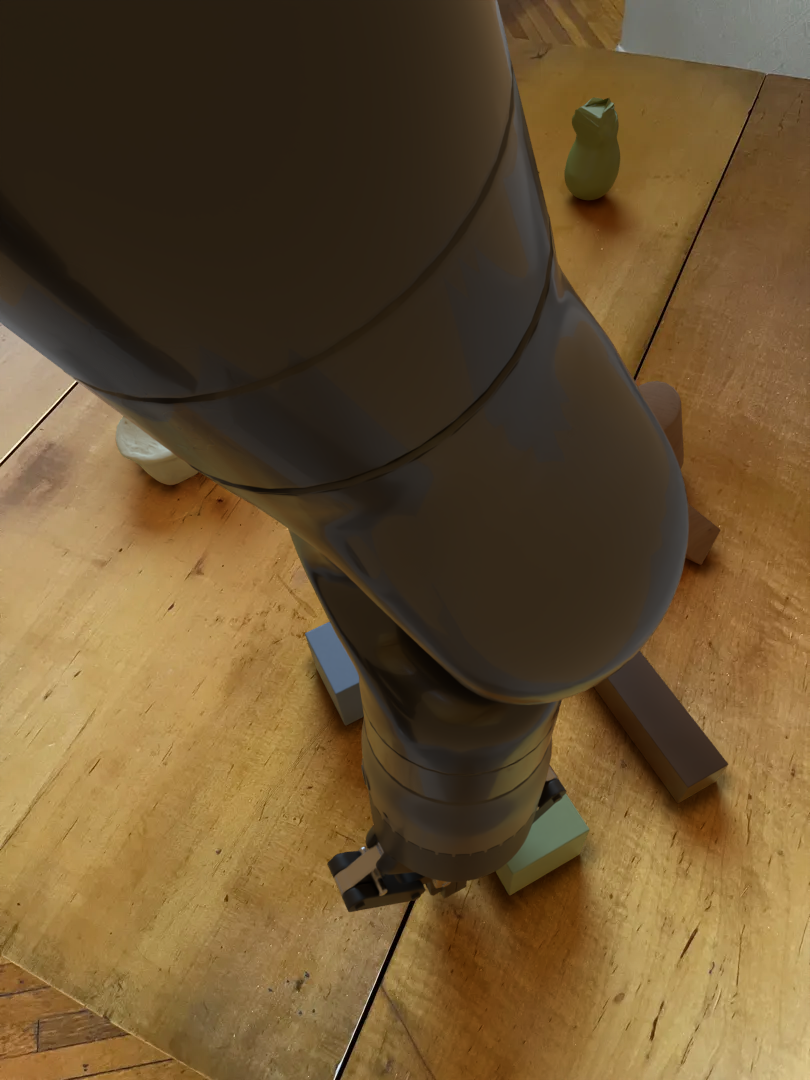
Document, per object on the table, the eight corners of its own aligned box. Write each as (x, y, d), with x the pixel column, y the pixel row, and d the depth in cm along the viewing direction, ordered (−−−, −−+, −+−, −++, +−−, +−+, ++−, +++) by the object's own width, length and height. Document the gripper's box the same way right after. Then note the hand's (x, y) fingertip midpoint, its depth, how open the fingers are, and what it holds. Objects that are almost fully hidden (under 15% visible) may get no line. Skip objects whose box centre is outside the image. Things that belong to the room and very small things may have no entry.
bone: (274, 359, 77) (255, 285, 70) (294, 469, 68) (274, 396, 61) (132, 388, 76) (99, 316, 69) (133, 504, 67) (96, 433, 60)
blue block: (345, 726, 55) (335, 694, 51) (315, 667, 57) (304, 632, 53) (411, 693, 56) (406, 659, 52) (379, 636, 58) (372, 600, 54)
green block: (509, 896, 48) (512, 875, 44) (466, 820, 51) (466, 794, 47) (580, 854, 49) (590, 829, 45) (534, 782, 52) (540, 753, 48)
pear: (624, 196, 88) (640, 102, 79) (588, 216, 86) (600, 122, 78) (587, 175, 90) (598, 82, 82) (551, 194, 89) (559, 100, 81)
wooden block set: (499, 476, 69) (468, 427, 60) (550, 390, 70) (527, 328, 61) (701, 571, 62) (701, 532, 52) (755, 474, 62) (765, 418, 53)
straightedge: (677, 804, 50) (688, 787, 48) (399, 417, 71) (397, 392, 68) (716, 781, 51) (729, 764, 49) (429, 405, 72) (428, 379, 69)
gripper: (348, 926, 30) (372, 1001, 44) (639, 765, 34) (577, 881, 47) (272, 754, 34) (316, 872, 48) (539, 627, 38) (509, 771, 51)
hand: (446, 876), depth 48 cm, fingers closed
